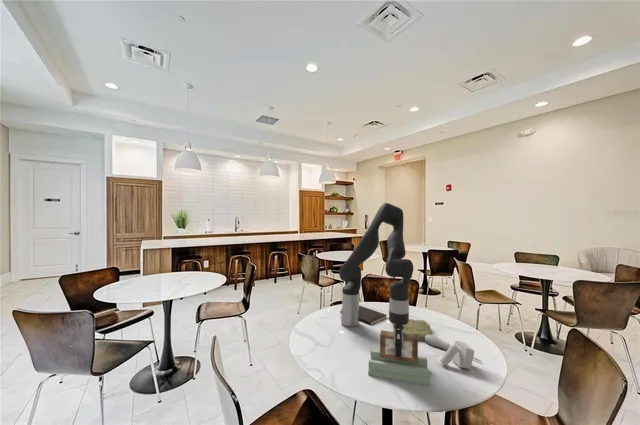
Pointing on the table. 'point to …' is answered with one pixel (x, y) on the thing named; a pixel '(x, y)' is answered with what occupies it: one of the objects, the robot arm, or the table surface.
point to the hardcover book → (369, 315)
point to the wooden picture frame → (407, 351)
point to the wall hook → (459, 355)
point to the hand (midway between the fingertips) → (398, 352)
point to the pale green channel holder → (399, 369)
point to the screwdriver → (439, 343)
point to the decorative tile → (417, 328)
